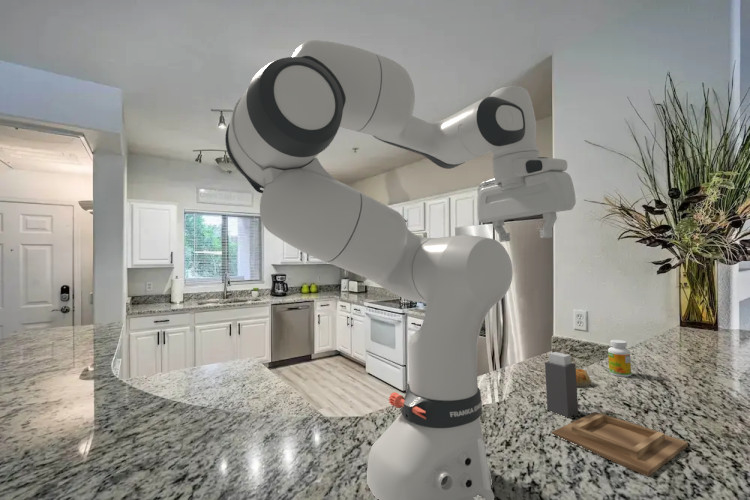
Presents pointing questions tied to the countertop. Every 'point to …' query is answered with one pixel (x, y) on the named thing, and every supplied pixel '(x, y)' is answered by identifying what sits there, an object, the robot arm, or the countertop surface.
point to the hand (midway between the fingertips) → (524, 239)
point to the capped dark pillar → (561, 385)
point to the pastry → (582, 378)
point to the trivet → (622, 442)
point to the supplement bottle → (619, 359)
